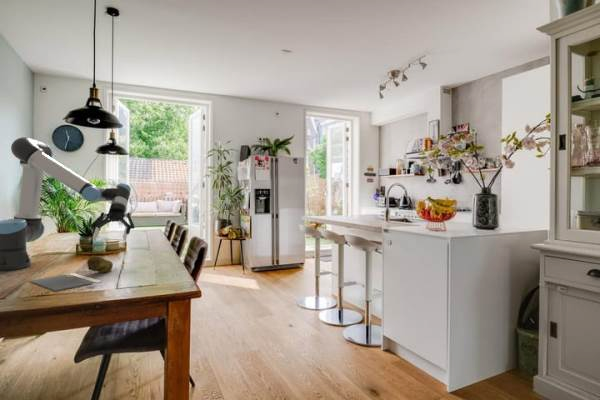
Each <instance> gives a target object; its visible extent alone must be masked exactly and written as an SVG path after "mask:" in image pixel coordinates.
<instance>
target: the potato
mask: <svg viewBox="0 0 600 400" xmlns="http://www.w3.org/2000/svg"><path fill="white" fill-rule="evenodd" d="M86 263H87V267H88V270H89V271H93V272H99V273H108V272H110V271H112V269H113V265H114V263H113V262H112V261H111V260H108V259H105V258H103V257H101V256H93V257H90V258H89V259H88V260H87V262H86Z"/></svg>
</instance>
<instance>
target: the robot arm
mask: <svg viewBox="0 0 600 400" xmlns="http://www.w3.org/2000/svg"><path fill="white" fill-rule="evenodd" d="M10 151H11V153H12V155H13V156H14V157H15V158H17V159H18V160H19V165H20V166H21V168H22V175H21V181H20V182H21V186H20V194H19V204H18V212H17V213H16V214H15V215H14V216H13V218H9V219H3V220H0V271H1V272H3V271H13V270H15V271H16V270H21V269H26V268H29V267H31V266H32V260H31V257H30V256H29V253H28V250H27V243H32V242H35V241H36V240H38V239H40V238H41V237H42V236H43V235H44V233H45V225H44V223H43V222H42V220H43V216H42V215H40V206H41V196H42V187H43V185H42V184H43V177H44V173H45V174H47V175H49V176H51V178H53V179H55V180H57V181H58V182H60V183H61V184H63V185H65V187H67V188H69V189H70V190H73V191H74V192H75V193H78V194H79V195H81V196H82V198H83V200H85V201H87V202H91V203H93V202H105V201H107V202H110V201H111V203H110V207H109V210H108V213H104V212H101V213H100V215H99V216H98V217H97V218H96V219H95V220H94V221H93V222H92V223H91V224H90V228H91V230H92V239H93V241H94V242H96V241H97V239H98V235H99V233H100V229H101V228H102V227H104V226H105V225H107V224H109V223H111V222H113V223H114V222H117V223H118V222H120V223H121V224H123V226H124V232H123V234H122V235H123V236H122V239H123V241H126V240H127V237H128V235H130V234H131V233H130V232H131V229H133V230H134V229H135V224H134V221H133V219H132V217H131V213H130V212H127V213H126V209H127V207H128V203H129V199H130V196H131V191H132V187H130V185H129V184H127V183H123V182H121V183H118V184H117V185H116V186H115V187H114V186H113V187H112V186H111V187H110V186H109V187H108V186H96V185H94V183H91V182H90V181H88V180H87V179H85V178H84V177H82V176H81V175H79V174H78V173H76V172H74V171H73V170H71V169H70V168H68V167H66V166H65V165H63V164H62V163H60V162H58V161H57V160H55V159H54V158H53V150H52V147H51V146H50V145H49V144H48V143H46V142H44V141H42V140H39V139H38V140H37V139H36V138H35V139H34V138H31V137H19V138H16V139H15V140H14V141H13V142H12V144H11V147H10ZM125 217H126V219H128V222H127V221H126V220H125Z"/></svg>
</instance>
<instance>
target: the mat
mask: <svg viewBox="0 0 600 400" xmlns="http://www.w3.org/2000/svg"><path fill="white" fill-rule="evenodd" d="M29 282H30V283H31V282H32V283H31V284H35V285H36V286H40V287H42V288H45V289H48V290H51V291H53V292H60V291H65V290H69V289H75V288H80V287H84V286H89V285H92V284H93V282H91V281H87V280H84V279H81V278H78V277H74V276H71V275H67V274H60V275H54V276H50V277H43V278H37V279H32V280H29Z"/></svg>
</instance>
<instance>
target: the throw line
mask: <svg viewBox="0 0 600 400" xmlns="http://www.w3.org/2000/svg"><path fill="white" fill-rule="evenodd" d="M68 276H71V277H74V278H77V279H81V280H84V281H87V282H90V283H95V284H98V283H102V282H103V280H99V279H96V278H92V277H90V276H86V275H83V274H79V273H76V272H75V273H69V274H68Z"/></svg>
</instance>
